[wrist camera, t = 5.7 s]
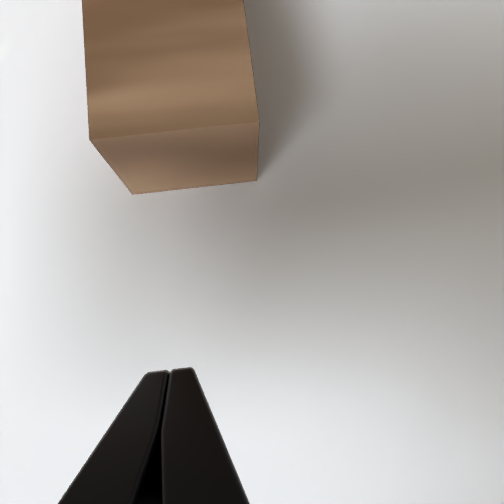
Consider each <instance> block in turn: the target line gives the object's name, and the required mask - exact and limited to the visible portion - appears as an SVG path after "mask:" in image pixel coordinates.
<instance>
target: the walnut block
mask: <svg viewBox="0 0 504 504" xmlns="http://www.w3.org/2000/svg"><path fill="white" fill-rule="evenodd" d="M82 11H83V30H84V48H85V67H86V86H87V105H88V123H89V140H90V141H91V142H92V144H93V145H94V146H95V148H96V149H97V150H98V151H99V153H100V154H101V155H102V156H103V158H104V159H105V160H106V162H107V163H108V164H109V165H110V167H111V168H112V169H113V170H114V172H115V173H116V174H117V176H118V177H119V178H120V179H121V181H122V182H123V183H124V184H125V186H126V187H127V188H128V190H129V191H130V192H131V193H132V195H133V194H142V193H151V192H160V191H169V190H178V189H187V188H195V187H204V186H213V185H222V184H231V183H240V182H249V181H257V162H258V141H259V115H258V107H257V100H256V92H255V85H254V77H253V70H252V62H251V55H250V47H249V40H248V32H247V25H246V17H245V10H244V2H243V0H82Z"/></svg>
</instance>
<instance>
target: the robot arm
mask: <svg viewBox="0 0 504 504" xmlns="http://www.w3.org/2000/svg"><path fill="white" fill-rule="evenodd" d="M58 504H250V503H249V501H248V498H247V496H246V494H245V491H244V489H243V486H242V484H241V481H240V479H239V477H238V474H237V472H236V469H235V467H234V465H233V462H232V460H231V457H230V455H229V453H228V450H227V448H226V445H225V443H224V440H223V438H222V436H221V433H220V431H219V428H218V426H217V424H216V421H215V419H214V416H213V414H212V412H211V409H210V407H209V404H208V402H207V399H206V397H205V395H204V392H203V390H202V387H201V385H200V383H199V380H198V378H197V375H196V373H195V371H194V369H193V368H191V367H188V368H179V369H173V370H172V371H171V372H169V371H167V370H163V371H154V372H148V373H147V374H145V375H144V377H143V378H142V379H141V381H140V382H139V384H138V385H137V387H136V388H135V390H134V391H133V393H132V394H131V396H130V397H129V399H128V400H127V402H126V403H125V405H124V406H123V408H122V409H121V411H120V412H119V414H118V415H117V417H116V418H115V420H114V421H113V423H112V424H111V426H110V427H109V428H108V430H107V431H106V433H105V434H104V436H103V437H102V439H101V440H100V442H99V443H98V445H97V446H96V448H95V449H94V451H93V452H92V454H91V455H90V457H89V458H88V460H87V461H86V463H85V464H84V466H83V467H82V469H81V470H80V472H79V473H78V475H77V476H76V477H75V479H74V480H73V482H72V483H71V485H70V486H69V488H68V489H67V491H66V492H65V494H64V495H63V497H62V498H61V500H60V501H59V503H58Z"/></svg>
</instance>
